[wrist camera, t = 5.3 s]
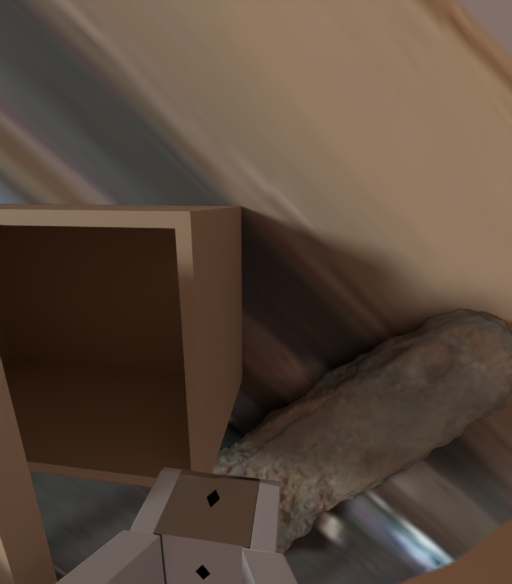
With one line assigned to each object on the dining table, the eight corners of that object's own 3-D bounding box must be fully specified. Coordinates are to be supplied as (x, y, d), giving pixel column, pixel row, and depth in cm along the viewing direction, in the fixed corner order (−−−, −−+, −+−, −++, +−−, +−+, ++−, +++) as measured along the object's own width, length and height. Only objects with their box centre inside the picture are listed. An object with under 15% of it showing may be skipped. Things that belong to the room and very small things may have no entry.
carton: (242, 378, 24) (204, 494, 15) (14, 360, 27) (-143, 447, 17) (241, 206, 21) (190, 211, 11) (-23, 203, 23) (-248, 206, 14)
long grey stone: (526, 365, 23) (437, 265, 22) (593, 405, 17) (479, 276, 17) (202, 576, 31) (131, 507, 30) (182, 646, 26) (96, 565, 25)
